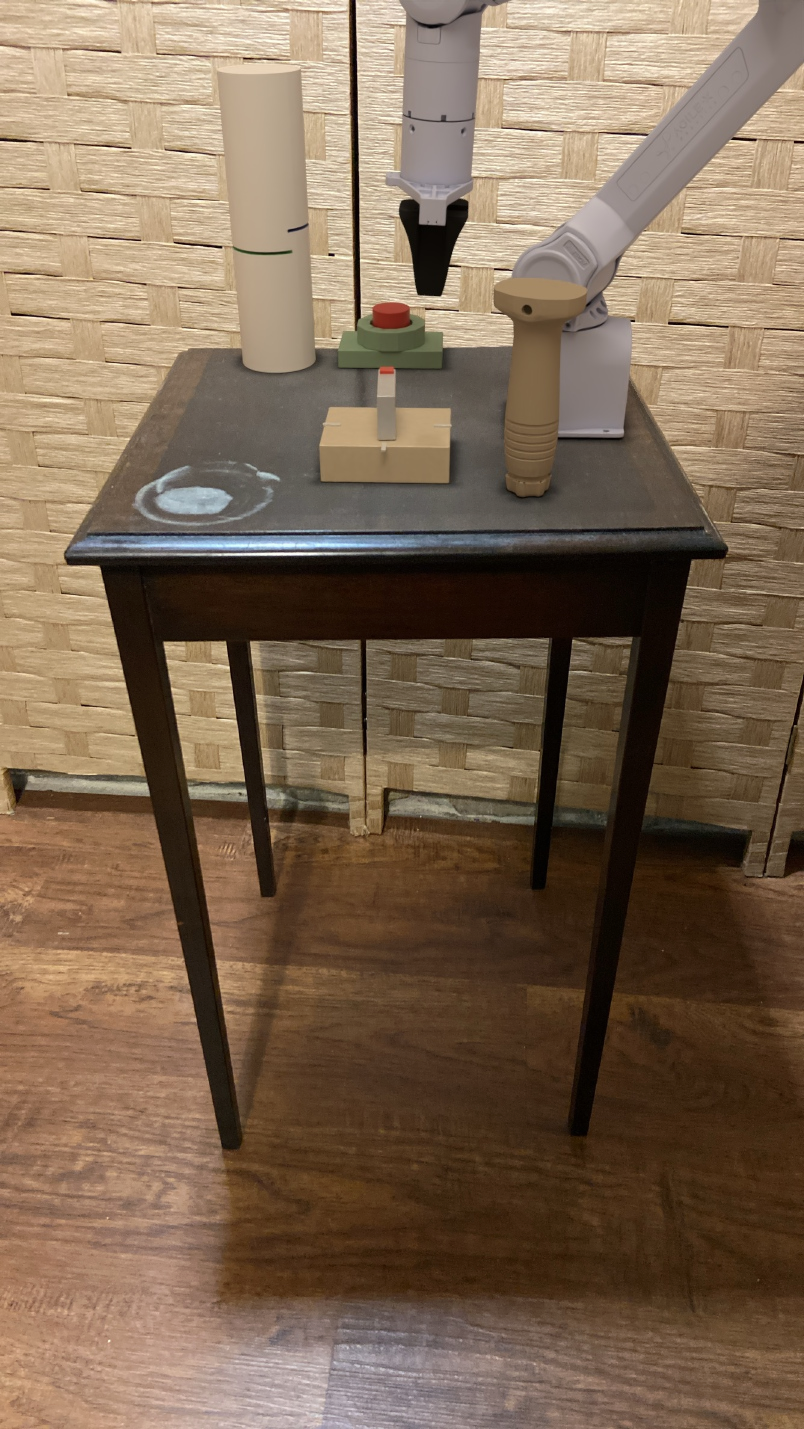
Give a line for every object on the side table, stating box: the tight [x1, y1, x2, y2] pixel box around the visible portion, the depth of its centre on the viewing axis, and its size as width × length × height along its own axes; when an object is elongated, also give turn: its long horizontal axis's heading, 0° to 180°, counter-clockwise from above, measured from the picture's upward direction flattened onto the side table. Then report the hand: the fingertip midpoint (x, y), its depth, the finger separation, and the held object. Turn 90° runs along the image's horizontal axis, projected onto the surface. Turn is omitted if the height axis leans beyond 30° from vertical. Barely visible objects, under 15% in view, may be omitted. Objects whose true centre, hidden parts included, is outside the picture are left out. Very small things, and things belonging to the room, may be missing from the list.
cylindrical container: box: [216, 63, 317, 374], centre depth 103 cm, size 7×7×25 cm
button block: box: [337, 313, 444, 370], centre depth 110 cm, size 10×6×4 cm, turn 87°
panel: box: [318, 406, 453, 484], centre depth 90 cm, size 10×10×3 cm
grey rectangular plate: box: [376, 367, 397, 440], centre depth 88 cm, size 6×1×4 cm, turn 0°
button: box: [371, 301, 411, 329], centre depth 109 cm, size 4×4×2 cm
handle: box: [492, 277, 587, 498], centre depth 82 cm, size 5×6×15 cm
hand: (429, 293), depth 96 cm, fingers closed
